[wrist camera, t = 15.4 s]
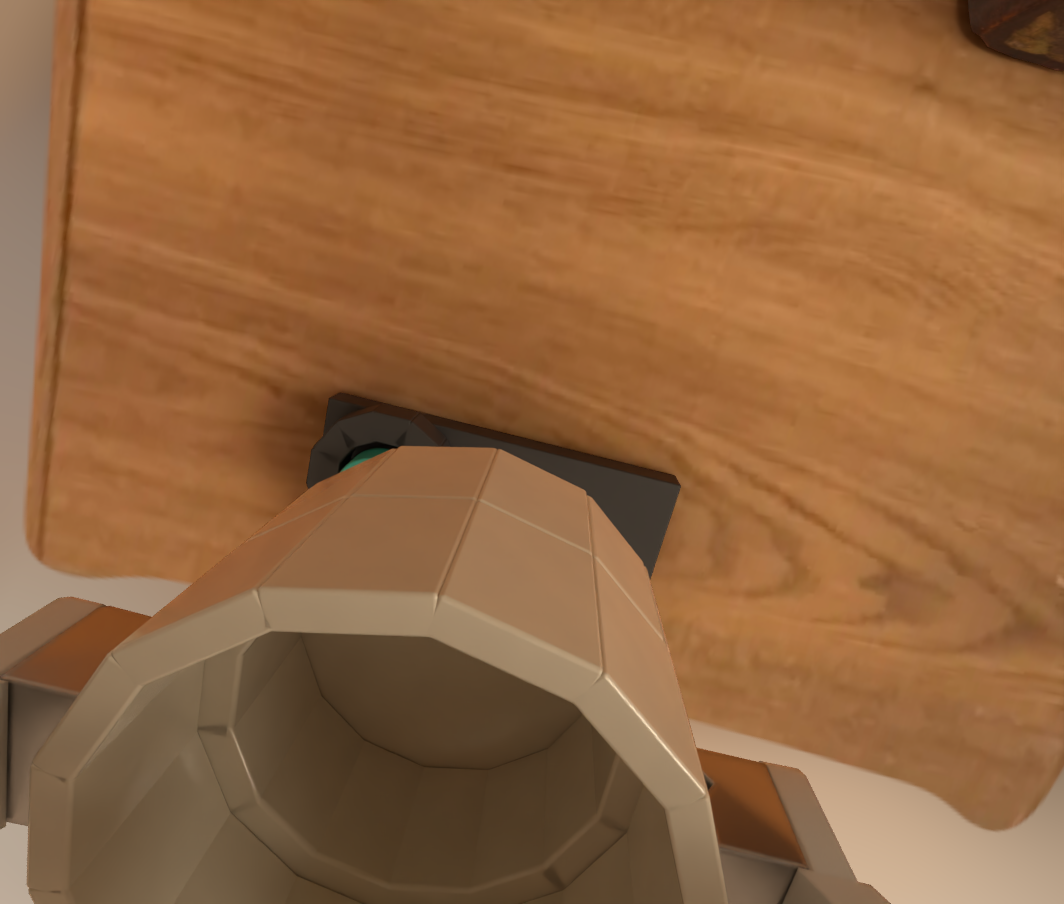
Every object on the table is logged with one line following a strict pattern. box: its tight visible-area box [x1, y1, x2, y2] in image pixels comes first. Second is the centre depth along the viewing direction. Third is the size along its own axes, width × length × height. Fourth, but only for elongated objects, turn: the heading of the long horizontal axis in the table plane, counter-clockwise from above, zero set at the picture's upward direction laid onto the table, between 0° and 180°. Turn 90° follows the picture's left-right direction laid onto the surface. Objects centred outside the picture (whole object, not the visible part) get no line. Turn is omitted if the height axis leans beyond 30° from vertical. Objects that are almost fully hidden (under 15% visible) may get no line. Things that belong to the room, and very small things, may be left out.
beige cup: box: [27, 446, 729, 904], centre depth 8 cm, size 6×6×5 cm
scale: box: [306, 392, 681, 579], centre depth 28 cm, size 15×9×3 cm, turn 76°
